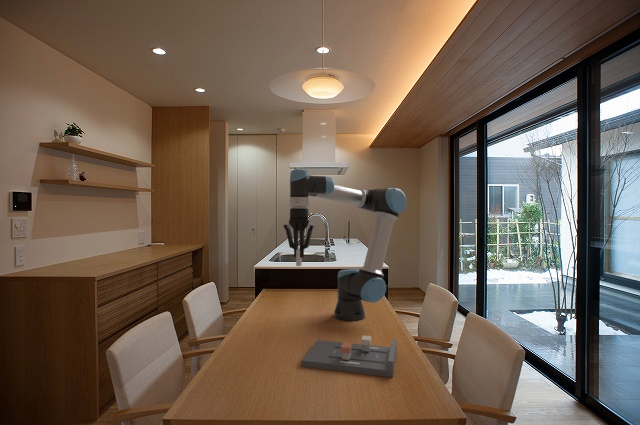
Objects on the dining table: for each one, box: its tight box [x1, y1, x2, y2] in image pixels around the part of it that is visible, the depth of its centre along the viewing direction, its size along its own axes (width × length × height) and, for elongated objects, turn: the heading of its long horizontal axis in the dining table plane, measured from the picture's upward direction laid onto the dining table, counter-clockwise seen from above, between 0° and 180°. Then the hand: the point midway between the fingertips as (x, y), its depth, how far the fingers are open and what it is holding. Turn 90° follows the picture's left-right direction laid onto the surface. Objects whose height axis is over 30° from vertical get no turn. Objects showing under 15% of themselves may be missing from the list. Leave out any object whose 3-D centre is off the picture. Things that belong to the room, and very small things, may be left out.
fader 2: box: [360, 335, 372, 352], centre depth 133 cm, size 4×3×4 cm
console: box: [301, 338, 398, 378], centre depth 130 cm, size 20×30×5 cm, turn 75°
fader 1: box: [341, 341, 353, 360], centre depth 126 cm, size 4×3×4 cm
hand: (298, 265), depth 153 cm, fingers closed
